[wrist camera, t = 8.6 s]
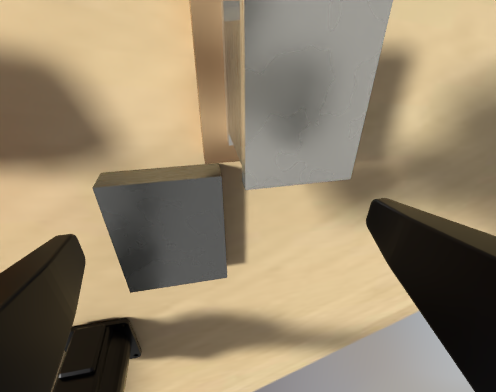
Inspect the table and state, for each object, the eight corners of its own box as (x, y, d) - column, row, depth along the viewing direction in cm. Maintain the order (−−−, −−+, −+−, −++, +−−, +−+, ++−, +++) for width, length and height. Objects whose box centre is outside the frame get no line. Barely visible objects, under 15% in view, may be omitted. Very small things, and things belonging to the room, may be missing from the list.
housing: (303, 135, 17) (350, 179, 12) (227, 140, 17) (245, 190, 12) (318, 3, 14) (395, -9, 9) (221, 1, 13) (244, -13, 8)
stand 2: (310, 143, 20) (321, 154, 18) (203, 151, 19) (205, 163, 17) (334, -28, 15) (352, -35, 13) (186, -35, 13) (186, -43, 12)
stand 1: (224, 260, 25) (227, 277, 23) (134, 273, 24) (130, 292, 22) (218, 163, 19) (221, 176, 18) (100, 173, 18) (92, 187, 16)
